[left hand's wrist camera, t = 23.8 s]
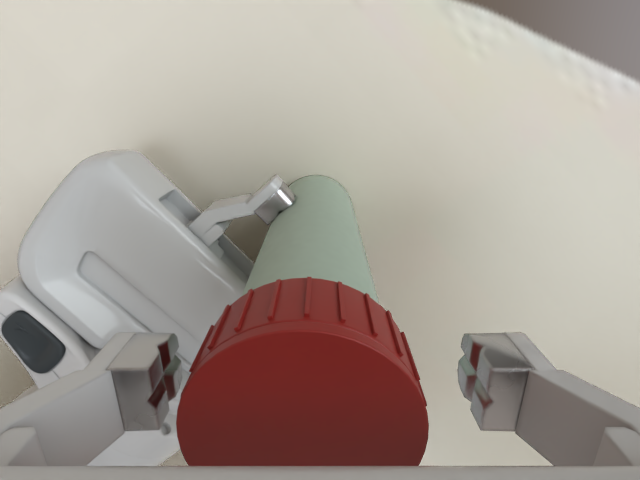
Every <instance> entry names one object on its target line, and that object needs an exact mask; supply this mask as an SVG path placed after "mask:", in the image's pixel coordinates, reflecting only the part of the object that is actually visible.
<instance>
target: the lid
mask: <svg viewBox="0 0 640 480" xmlns="http://www.w3.org/2000/svg"><path fill="white" fill-rule="evenodd" d="M189 372H191V374H190V376H189V378H188V380H187V382H186V384H185V387H184V389H183V391H182V393H181V398H180V402H179V405H178V409H177V418H176V428H177V438H178V442H179V445H180V449H181V451H182V454H183V456H184V458H185V460H186V462H187V464H188V465H189V466H418V465H419V464H420V462H421V460H422V457H423V455H424V452H425V449H426V444H427V440H428V429H429V423H428V415H427V410H426V407H425V406H427V403H426V400H425V397H424V394H423V391H422V388H421V385H420V382H419V380H420V377H419V374H418V372H417V369H416V366H415V363H414V360H413V357H412V354H411V351H410V348H409V345H408V343H407V340H406V337H405V334H404V332H401V333H400V331H399V328H398V326H397V325H396V323H395V322H394V320H393V319H392V316H391V313H390V312H389V311H387V312H386V311H385V310H384V309H383V307H382V306H380V305H379V304H378V303H377V302H375V301H374V300H373V299H372V298H370V296H369V294H367V293H366V294H364V293H362V292H360V291H358V290H356V289H354V288H352V287H350V286H347V285H344V284H342V282H339V281H338V282H335V281H330V280H325V279H318V278H312V277H307V278H291V279H285V280H281V279H278V280H276V281H275V282H272V283H269V284H265V285H263V286H260V287H258V288H256V289H254V290H252V289H250V290H248V292H247V293H246V294H245V295H243V296H242V297H240V298H239V299H237V300H236V301H235V302H234V303H233V304H231V305H229V304H228V305H227V306H226V307H225V309H224V311H223V313H222V315H221V316H220V318H219V319H218V321H217V322H216V324H215V325H211V327H210V329H209V331H208V333H207V335H206V337H205V339H204V341H203V343H202V345H201V347H200V349H199V351H198V353H197V355H196V357H195V359H194V361H193V363H192V365H191V368H190V370H189Z"/></svg>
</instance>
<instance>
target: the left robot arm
mask: <svg viewBox="0 0 640 480" xmlns="http://www.w3.org/2000/svg"><path fill="white" fill-rule="evenodd" d="M178 348H179V343H178V338H177V336H176V335H175V334H174V333H142V332H138V333H136V332H120V333H116V334H115V335H114V336H113V337H112V338H111V339H110V340H109V341H108V343H107V344H106V345H105V346H104V347H103V348H102V349H101V350H100V352H99V353H98V354H97V355H96V356H95V357H94V358H93V359H92V361H91V362H90V363H89V364H88V365H87V366H86V367H85V368H84V370H76V371H74V372H72V373H70V374H68V375H66V376H64V377H62V378H60V379H58V380H56V381H54V382H52V383H50V384H48V385H46V386H44V387H42V388H40V389H38V390H36V391H34V392H32V393H30V394H28V395H26V396H24V397H22V398H20V399H18V400H16V401H14V402H12V403H10V404H8V405H6V406H4V407H2V408H0V480H640V408H638V407H636V406H634V405H632V404H630V403H628V402H626V401H624V400H622V399H620V398H618V397H616V396H614V395H612V394H610V393H608V392H606V391H604V390H602V389H600V388H598V387H596V386H594V385H592V384H590V383H588V382H586V381H584V380H582V379H580V378H578V377H576V376H574V375H572V374H570V373H568V372H566V371H564V370H556V368H555V367H554V366H553V365H552V364H551V363H550V362H549V361H548V359H547V358H546V357H545V356H544V355H543V354H542V353H541V352H540V350H539V349H538V348H537V347H536V346H535V345H534V344H533V343H532V341H531V340H530V339H529V338H528V337H527V336H526V335H525V334H524V333H521V332H508V333H476V334H464V336H463V338H462V343H461V348H462V350H463V352H464V353H465V355H464V356H463V357H462V358H461V359H460V360H459V363H458V382H459V385H460V389H461V391H462V393H463V395H464V397H465V398H467V399H468V400H469V401H471V402H472V403H471V409H470V410H471V412H472V414H473V416H474V418H475V420H476V422H477V424H478V426H479V428H480V430H486V431H516V432H515V433H516V434H517V435H518V436H519V437H521V438H522V439H523V440H524V441H525V442H527V443H528V444H529V445H530V446H531V447H533V448H534V449H535V450H536V451H537V452H538V453H540V454H541V455H542V456H543V457H544V458H546V459H547V460H548V461H549V462H550V463H552V464H553V465H554V466H86V465H87V464H89V463H90V462H91V461H92V460H93V459H95V458H96V457H97V456H98V455H99V454H101V453H102V452H103V451H104V450H105V449H106V448H108V447H109V446H110V445H111V444H112V443H114V442H115V441H116V440H117V439H118V438H120V437H121V436H122V435H123V434H124V433H125V432H124V431H153V430H160V428H161V426H162V424H163V422H164V420H165V418H166V416H167V414H168V412H169V410H170V409H169V403H168V402H169V401H171V400H172V399H173V398H175V397H176V395H177V393H178V391H179V389H180V385H181V380H182V363H181V360H180V359H179V358H178V357H177V356H176V355H175V353H176V352H177V350H178Z"/></svg>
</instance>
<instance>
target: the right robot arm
mask: <svg viewBox="0 0 640 480" xmlns="http://www.w3.org/2000/svg"><path fill="white" fill-rule="evenodd" d="M295 197H296V195H295V194H294V193H293V191H292V190H291V189H290V188H289V187H288V186H287V185H286V184H285V182H284V181H283V180H282V179H281V178H280V177H279V176H278V175H277V174H276V175H275V176H273V177H272V178H271V179H270V180H269V181H268V182H266V183H265V184H264V185H263V186H262V187H261V188H260V189H259V190H258V191H257V192H255V193H254V194H253V195H252V194H246V195H241V196H235V197H230V198H225V199H220V200H215V201H214V202H213V203H212V204H211V205H210V206H209V207H208V208H207V209H206V210H205V211H203V212H201V211H200V210H199V209H198V208H197V207H196V206H195V205H194V204H193V203H192V202H191V201H190V200H189V199H188V198H187V197H186V196H185V195H184V194H183V193H182V192H181V191H180V190H179V189H178V188H177V187H176V186H175V185H174V184H173V183H172V182H171V181H170V180H169V179H168V178H167V177H166V176H165V175H164V174H163V173H162V172H160V171H159V170H158V169H157V168H156V167H155V166H154V165H153V164H152V163H151V162H150V161H149V160H148V159H147V158H146V157H145V156H144V155H143V154H142V153H140V152H139V151H136V150H111V151H106V152H102V153H98V154H95V155H93V156H90V157H88V158H86V159H84V160H83V161H81V162H80V163H79V164H77V165H76V166H75V167H74V168H73V170H72V171H71V172H70V173H69V174H68V175H67V176H66V177H65V178H64V180H63V181H62V182H61V183H60V184H59V186H58V187H57V188H56V189H55V191H54V192H53V193H52V195H51V196H50V197H49V199H48V200H47V201H46V203H45V204H44V206H43V207H42V208H41V210H40V211H39V213H38V214H37V216H36V217H35V219H34V221H33V222H32V224H31V226H30V227H29V229H28V230H27V232H26V234H25V236H24V238H23V240H22V242H21V245H20V248H19V251H18V258H17V261H18V269H19V273H20V275H18V276H17V277H15V278H14V279H13V280H11V281H10V282H9V283H8V284H6V285H5V286H4V287H3V288H2V289H0V337H1V338H2V339H3V340H4V342H5V343H6V344H7V345H8V346H9V348H10V349H11V350H12V351H13V353H14V354H15V355H16V357H17V358H18V359H19V360H20V362H21V363H22V364H23V366H24V367H25V369H26V370H27V372H28V373H29V374H30V376H31V378H32V379H33V381H34V382H35V385H33V386H31V387H30V388H28V389H27V390H25V391H24V392H23V393H21V394H20V395H19V396H18V397H17V398H16V399H15V400H14V401H16V400H18V399H20V398H22V397H24V396H26V395H28V394H30V393H32V392H34V391H36V390H38V389H40V388H42V387H44V386H46V385H48V384H50V383H52V382H54V381H56V380H58V379H60V378H62V377H64V376H66V375H68V374H70V373H72V372H74V371H76V370H84V368H85V367H86V366H87V365H88V364H89V363H90V362H91V361H92V359H93V358H94V357H95V356H96V355H97V354H98V353H99V352H100V350H101V349H102V348H103V347H104V346H105V345H106V344H107V343H108V341H109V340H110V339H111V338H112V337H113V336H114V335H115V334H116V333H120V332H136V333H138V332H142V333H174V334H175V335H176V336H177V338H178V343H179V348H178V350H177V352H176V353H175V355H176V356H177V357H178V358H179V359H180V360H181V363H182V380H181V385H180V389H179V391H178V393H177V395H176V397H175V398H173V399H172V400H171V401H169V402H168V403H169V409H170V410H169V412H168V414H167V416H166V418H165V420H164V422H163V424H162V426H161V428H160V430H153V431H124V432H125V433H124V434H123V435H122V436H121V437H120V438H118V439H117V440H116V441H115V442H114V443H112V444H111V445H110V446H109V447H108V448H106V449H105V450H104V451H103V452H102V453H101V454H99V455H98V456H97V457H96V458H95V459H93V460H92V461H91V462H90V463H89V464H87V465H86V466H159V465H160V464H161V463H163V462H164V461H165V460H167V459H168V458H169V457H171V456H172V455H173V454H175V453H176V452H177V451H179V450H180V445H179V442H178V438H177V428H176V418H177V409H178V405H179V402H180V398H181V393H182V391H183V389H184V387H185V384H186V382H187V380H188V378H189V376H190V374H191V372H189V370H190V368H191V365H192V363H193V361H194V359H195V357H196V355H197V353H198V351H199V349H200V347H201V345H202V343H203V341H204V339H205V337H206V335H207V333H208V331H209V329H210V327H211V325H215V324H216V322H217V321H218V319H219V318H220V316H221V315H222V313H223V311H224V309H225V307H226V306H227V305H228V304H229V305H231V304H233V303H234V302H235V301H236V300H237V299H239V298H240V297H241V296H242V294H243V291H244V289H245V286H246V284H247V281H248V279H249V276H250V274H251V271H252V269H253V267H254V264H255V263H254V262H253V261H252V260H251V259H250V258H249V257H248V256H247V255H246V254H245V253H244V252H243V251H242V250H240V249H239V248H238V247H237V246H236V245H235V244H234V243H233V242H232V241H231V240H230V239H229V238H228V237H227V236H226V235H225V234H224V232H225V230H226V229H227V227H228V226H229V225H230V223H231V222H232V219H235V218H240V217H245V216H249V215H254V214H257V215H258V216H259V217H260V218H261V219H262V220H263V221H264V222H265V223H266V224H267V225H269V224H270V223H271V222H272V221H273V220H274V219H275V218H276V217H277V216H278V214H279V211H284V210H286V209H287V208H288V207H289V206H290V205H291V204H292V203H293V202H294V201H295ZM372 279H373V278H372ZM373 283H374V282H373ZM374 287H375V285H374ZM14 401H12V402H14ZM12 402H11V403H12Z"/></svg>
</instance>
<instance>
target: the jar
mask: <svg viewBox="0 0 640 480" xmlns="http://www.w3.org/2000/svg"><path fill="white" fill-rule="evenodd" d="M289 188H290V189H291V190H292V191H293V193H294V194H295V195H296V197H295V201H294V202H293V203H292V204H291V205H290V206H289V207H288V208H287V209H286V210H284V211H279V214H278V216H277V217H276V218H275V219H274V220H273V221H272V222H271V225H270V227H269V230H268V232H267V234H266V237H265V239H264V242H263V244H262V247H261V249H260V252H259V254H258V257H257V259H256V262H255V264H254V267H253V269H252V271H251V274H250V276H249V279H248V281H247V284H246V286H245V289H244V291H243V294H242V296H243V295H245V294H246V293H247V292H248V290H250V289H252V290H254V289H256V288H258V287H260V286H263V285H265V284H269V283H272V282H275V281H276V280H278V279H281V280H285V279H291V278H307V277H312V278H318V279H325V280H330V281H335V282H338V281H339V282H342V284H344V285H347V286H350V287H352V288H354V289H356V290H358V291H360V292H362V293H364V294H366V293H367V294H369V296H370V298H372V299H373V300H374V301H375V302H377V303H378V304H379V301H378V298H377V294H376V290H375V287H374V283H373V279H372V276H371V272H370V268H369V265H368V261H367V257H366V254H365V250H364V246H363V243H362V239H361V235H360V232H359V228H358V224H357V221H356V217H355V213H354V210H353V206H352V202H351V199H350V197H349V195H348V193H347V191H346V190H345V189H344V188H343V187H342V185H340V184H339V183H338V182H336V181H335V180H333V179H331V178H329V177H325V176H320V175H311V176H306V177H303V178H300V179H298V180H296V181H295V182H293V183H292V184H291V185H290V186H289ZM242 296H241V297H242Z"/></svg>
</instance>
